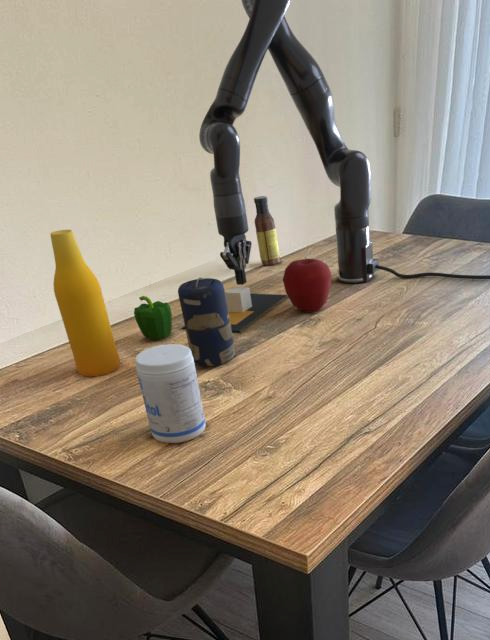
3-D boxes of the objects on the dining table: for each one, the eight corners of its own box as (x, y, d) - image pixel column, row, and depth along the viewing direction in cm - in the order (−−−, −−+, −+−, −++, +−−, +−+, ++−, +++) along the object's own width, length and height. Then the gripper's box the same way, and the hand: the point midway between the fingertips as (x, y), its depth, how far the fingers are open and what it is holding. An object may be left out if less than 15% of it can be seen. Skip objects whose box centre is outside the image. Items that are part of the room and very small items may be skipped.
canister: (243, 353, 148) (230, 271, 139) (224, 370, 141) (209, 285, 131) (205, 351, 151) (189, 271, 142) (184, 368, 144) (166, 284, 134)
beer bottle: (104, 378, 143) (64, 237, 127) (69, 375, 146) (26, 237, 130) (129, 362, 150) (94, 226, 134) (95, 359, 153) (57, 226, 137)
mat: (288, 296, 182) (287, 294, 181) (239, 332, 160) (238, 330, 160) (236, 294, 187) (236, 292, 187) (182, 329, 166) (182, 327, 166)
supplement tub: (141, 436, 118) (121, 358, 110) (183, 415, 124) (167, 339, 116) (176, 450, 113) (157, 369, 105) (218, 428, 119) (203, 349, 111)
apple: (279, 317, 168) (272, 263, 161) (298, 302, 177) (292, 250, 170) (323, 319, 164) (318, 263, 156) (340, 304, 172) (336, 251, 165)
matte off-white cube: (249, 287, 173) (240, 293, 169) (252, 306, 175) (243, 312, 171) (232, 286, 174) (223, 292, 171) (235, 305, 177) (226, 311, 173)
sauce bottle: (282, 260, 216) (274, 194, 205) (279, 265, 211) (270, 198, 200) (262, 261, 217) (253, 195, 206) (258, 266, 211) (249, 199, 201)
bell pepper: (182, 335, 162) (174, 294, 157) (154, 345, 157) (144, 304, 152) (162, 329, 167) (153, 289, 162) (134, 339, 162) (124, 298, 157)
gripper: (231, 218, 157) (242, 292, 167) (256, 207, 168) (265, 276, 177) (203, 219, 160) (216, 291, 169) (230, 207, 170) (240, 276, 180)
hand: (241, 283), depth 173 cm, fingers closed
